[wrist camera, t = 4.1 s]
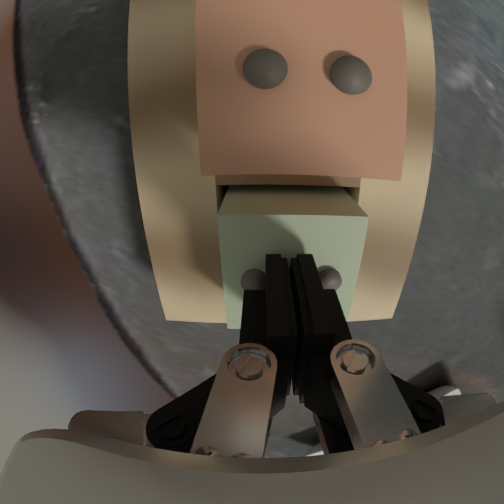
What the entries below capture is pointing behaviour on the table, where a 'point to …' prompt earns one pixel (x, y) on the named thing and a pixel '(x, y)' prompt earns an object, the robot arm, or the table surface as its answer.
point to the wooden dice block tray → (214, 186)
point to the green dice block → (289, 238)
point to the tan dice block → (301, 87)
